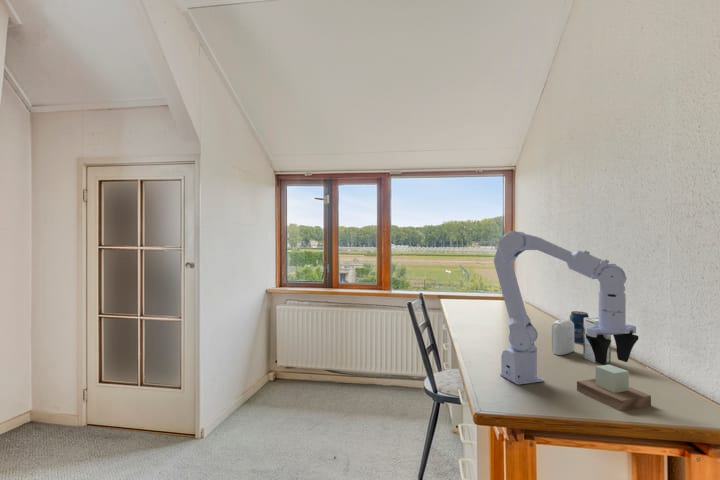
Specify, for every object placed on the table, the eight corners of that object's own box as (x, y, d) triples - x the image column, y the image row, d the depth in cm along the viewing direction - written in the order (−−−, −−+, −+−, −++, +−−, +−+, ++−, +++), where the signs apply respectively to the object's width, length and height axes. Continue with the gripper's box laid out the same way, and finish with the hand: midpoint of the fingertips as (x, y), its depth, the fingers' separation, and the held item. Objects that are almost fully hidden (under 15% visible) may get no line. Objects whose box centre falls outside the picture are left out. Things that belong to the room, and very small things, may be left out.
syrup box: (598, 357, 121) (598, 316, 121) (611, 363, 115) (611, 320, 115) (583, 357, 121) (582, 316, 121) (595, 363, 115) (594, 320, 115)
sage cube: (614, 393, 87) (614, 373, 87) (595, 385, 91) (595, 366, 91) (628, 390, 88) (628, 371, 88) (609, 382, 93) (609, 364, 93)
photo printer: (564, 348, 131) (563, 316, 131) (576, 351, 127) (576, 318, 128) (550, 353, 125) (549, 319, 126) (562, 356, 122) (562, 322, 122)
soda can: (568, 342, 140) (568, 312, 140) (571, 338, 145) (571, 310, 145) (588, 345, 135) (588, 315, 135) (590, 341, 140) (590, 312, 141)
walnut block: (621, 413, 82) (621, 400, 82) (576, 392, 94) (576, 381, 94) (651, 407, 85) (650, 395, 85) (604, 388, 97) (604, 377, 97)
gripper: (605, 315, 84) (605, 370, 84) (648, 311, 88) (648, 364, 88) (579, 309, 91) (579, 360, 91) (620, 306, 95) (620, 355, 95)
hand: (611, 362), depth 90 cm, fingers open, 7 cm apart
